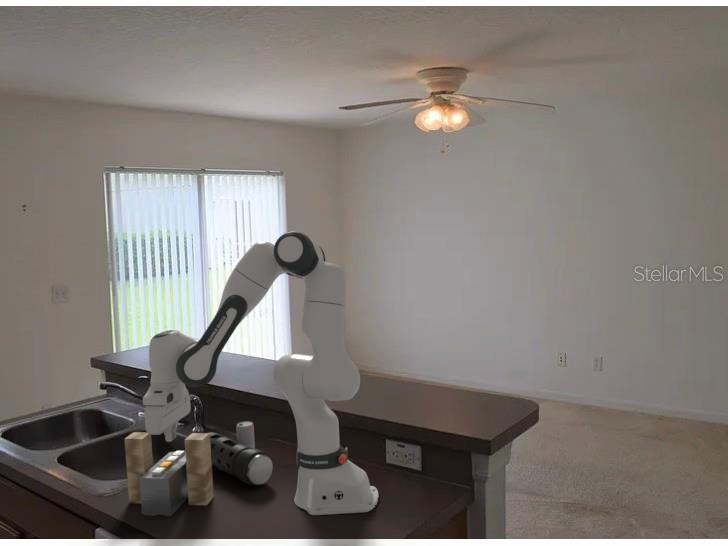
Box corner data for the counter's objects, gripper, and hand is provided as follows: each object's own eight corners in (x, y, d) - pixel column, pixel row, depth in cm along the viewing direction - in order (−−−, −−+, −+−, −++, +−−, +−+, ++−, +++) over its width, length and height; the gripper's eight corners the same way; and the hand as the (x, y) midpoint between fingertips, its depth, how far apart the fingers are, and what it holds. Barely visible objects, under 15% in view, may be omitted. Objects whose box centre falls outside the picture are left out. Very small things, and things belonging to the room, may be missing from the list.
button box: (198, 486, 183) (196, 449, 182) (171, 516, 166) (168, 474, 165) (172, 485, 185) (169, 448, 184) (142, 515, 167) (139, 474, 166)
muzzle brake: (223, 459, 204) (221, 427, 203) (276, 484, 183) (274, 449, 182) (196, 468, 197) (194, 435, 196) (248, 495, 177) (245, 458, 176)
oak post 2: (213, 497, 176) (209, 433, 174) (206, 505, 171) (202, 439, 169) (196, 496, 177) (192, 433, 175) (188, 504, 172) (184, 439, 170)
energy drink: (241, 457, 204) (239, 420, 203) (257, 458, 203) (255, 421, 202) (235, 464, 199) (233, 426, 198) (252, 464, 198) (250, 426, 197)
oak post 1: (155, 495, 178) (150, 432, 177) (146, 503, 174) (142, 438, 172) (138, 494, 179) (133, 432, 177) (129, 503, 174) (124, 438, 173)
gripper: (173, 380, 185) (176, 427, 186) (139, 400, 165) (142, 453, 166) (194, 380, 184) (197, 427, 185) (162, 401, 164) (165, 453, 165)
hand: (171, 439), depth 176 cm, fingers closed
